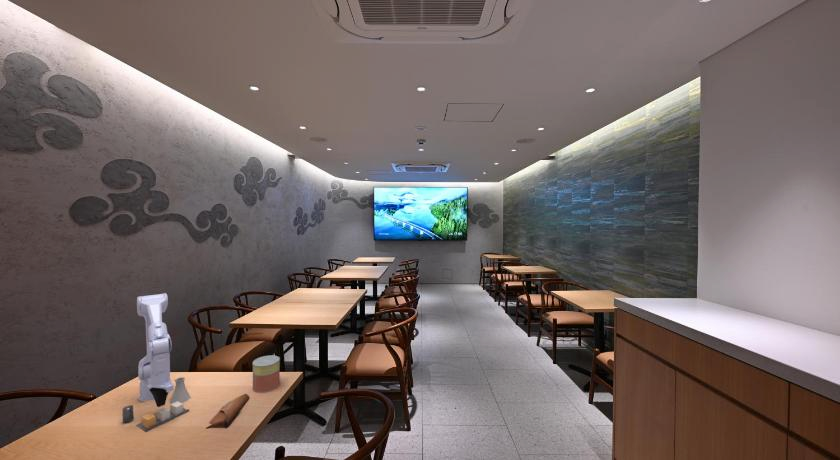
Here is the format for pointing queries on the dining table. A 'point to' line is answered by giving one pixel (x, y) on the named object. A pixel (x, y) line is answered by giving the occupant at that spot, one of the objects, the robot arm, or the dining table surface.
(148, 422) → the toggle orange
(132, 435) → the dining table surface
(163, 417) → the toggle mid
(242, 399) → the brown tapered rod
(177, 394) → the flask
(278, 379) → the canned food
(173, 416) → the panel
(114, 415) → the dining table surface
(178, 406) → the toggle near
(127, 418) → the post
